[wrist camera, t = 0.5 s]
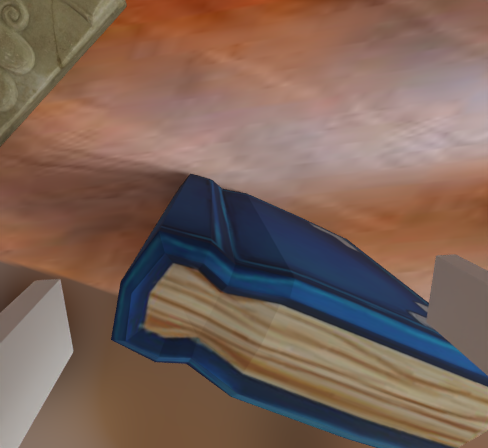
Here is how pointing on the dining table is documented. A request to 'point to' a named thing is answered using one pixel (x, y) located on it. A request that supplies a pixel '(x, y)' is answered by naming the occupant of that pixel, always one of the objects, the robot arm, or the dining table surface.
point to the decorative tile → (44, 49)
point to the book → (295, 324)
